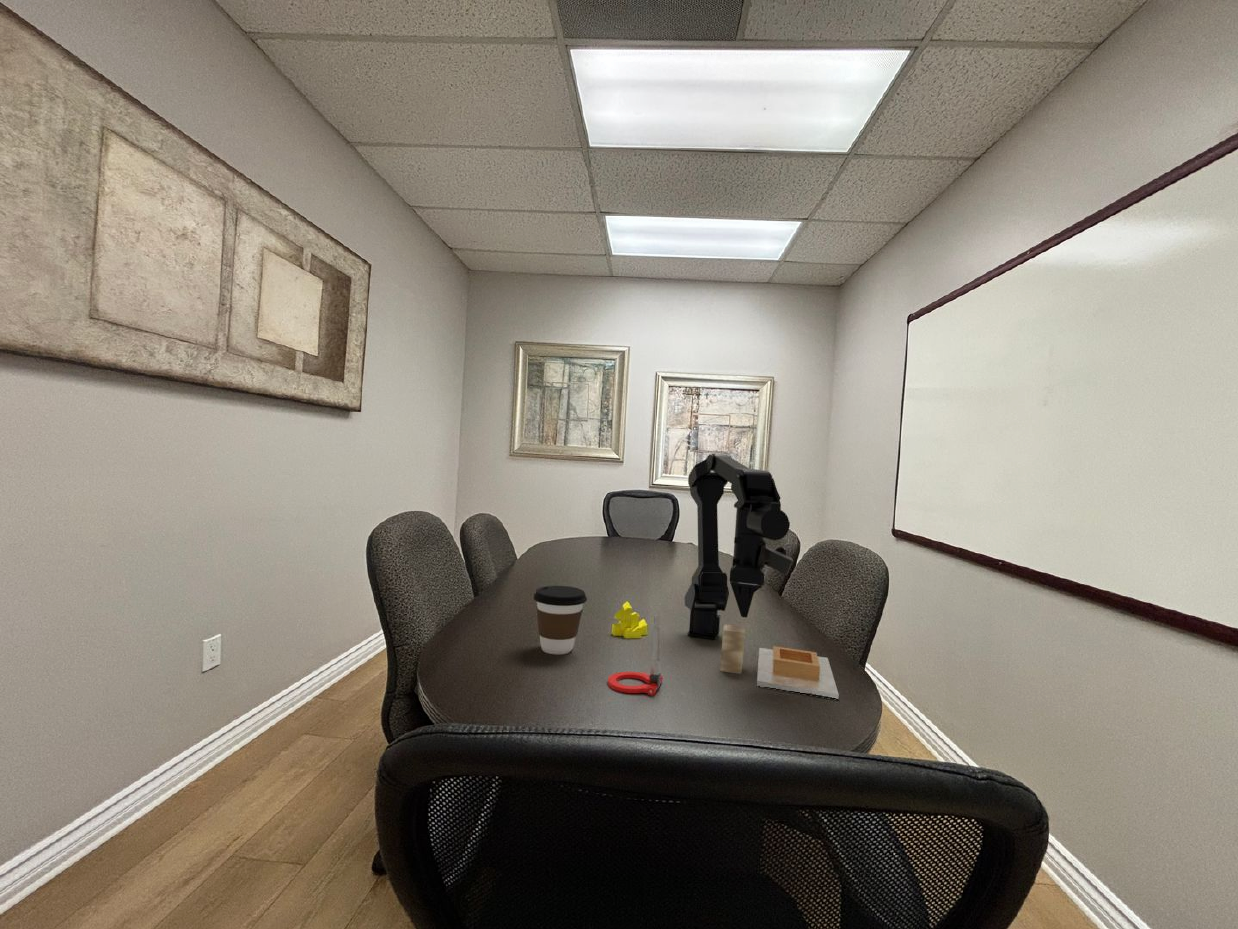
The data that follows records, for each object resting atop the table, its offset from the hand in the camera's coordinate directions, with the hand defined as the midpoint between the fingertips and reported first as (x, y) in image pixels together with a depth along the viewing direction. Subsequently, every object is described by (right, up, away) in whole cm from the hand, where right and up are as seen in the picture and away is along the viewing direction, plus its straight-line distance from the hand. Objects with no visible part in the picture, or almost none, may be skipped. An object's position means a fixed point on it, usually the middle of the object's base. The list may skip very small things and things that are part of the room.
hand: (744, 611), depth 111 cm
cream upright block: (-3, -11, -1) cm, 12 cm away
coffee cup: (-38, -9, +4) cm, 39 cm away
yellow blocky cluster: (-23, -10, +17) cm, 30 cm away
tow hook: (-22, -10, -12) cm, 27 cm away
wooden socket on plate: (+10, -12, -1) cm, 15 cm away
